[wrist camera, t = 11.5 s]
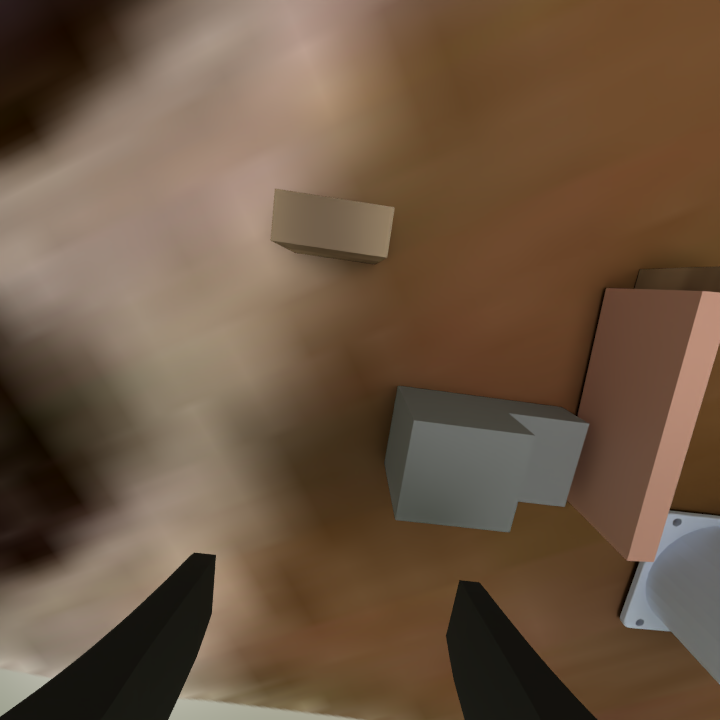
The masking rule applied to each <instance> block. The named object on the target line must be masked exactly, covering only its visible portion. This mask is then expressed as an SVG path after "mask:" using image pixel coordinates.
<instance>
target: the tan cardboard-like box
mask: <svg viewBox="0 0 720 720" xmlns="http://www.w3.org/2000/svg"><path fill="white" fill-rule="evenodd" d="M394 208H395V207H389V206H383V205H376V204H370V203H363V202H357V201H351V200H344V199H338V198H331V197H325V196H319V195H312V194H306V193H299V192H293V191H286V190H280V189H275V194H274V206H273V218H272V230H271V241H273V242H275V243H277V244H279V245H281V246H283V247H285V248H287V249H289V250H291V251H293V252H295V253H301V254H307V255H314V256H321V257H328V258H335V259H342V260H349V261H355V262H362V263H369V264H377V263H379V262H380V261H382V260H384V259H386V258H387V255H388V248H389V242H390V235H391V228H392V221H393V215H394ZM634 289H653V290H684V291H707V292H719V293H720V267H692V268H664V269H640V271H639V274H638V278H637V281H636V284H635V288H634Z"/></svg>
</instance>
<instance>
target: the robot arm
mask: <svg viewBox="0 0 720 720" xmlns="http://www.w3.org/2000/svg"><path fill="white" fill-rule="evenodd" d="M215 560H216V555H211V554H201V553H194V554H192V555H191V556H190V557H189V558H188V559H187V560H186V561H185V562H184V563H183V564H182V565H181V566H180V567H179V568H178V569H177V570H176V571H175V572H174V573H173V574H172V575H171V576H170V577H169V578H168V579H167V580H166V581H165V582H164V583H163V584H162V585H161V586H159V587H158V588H157V589H156V590H155V591H154V592H153V593H152V594H151V595H150V596H149V597H148V598H147V599H146V600H145V601H144V602H143V603H141V604H140V605H139V606H138V607H137V608H136V609H135V610H134V611H133V612H132V613H131V614H130V615H129V616H127V617H126V618H125V619H124V620H123V621H122V622H121V623H120V624H118V625H117V626H116V627H115V628H114V629H113V630H111V631H110V632H109V633H108V634H107V635H106V636H104V637H103V638H102V639H101V640H100V641H99V642H97V643H96V644H95V645H94V646H93V647H92V648H90V649H89V650H88V651H87V652H86V653H84V654H83V655H82V656H81V657H79V658H78V659H77V660H76V661H74V662H73V663H72V664H71V665H69V666H68V667H67V668H66V669H64V670H63V671H62V672H60V673H59V674H58V675H57V676H55V677H54V678H53V679H51V680H50V681H49V682H47V683H46V684H45V685H43V686H42V687H41V688H39V689H38V690H37V691H35V692H34V693H33V694H31V695H30V696H29V697H27V698H26V699H24V700H23V701H22V702H20V703H19V704H17V705H16V706H15V707H13V708H12V709H10V710H9V711H8V712H6V713H5V714H4V715H2V716H1V717H0V720H168V719H169V717H170V714H171V712H172V710H173V708H174V706H175V704H176V701H177V699H178V697H179V695H180V693H181V690H182V688H183V686H184V684H185V682H186V679H187V677H188V675H189V673H190V670H191V668H192V666H193V664H194V661H195V659H196V657H197V654H198V652H199V649H200V646H201V643H202V640H203V638H204V635H205V632H206V629H207V626H208V623H209V620H210V617H211V614H212V603H213V589H214V574H215ZM620 620H621V622H622V623H623V624H624V625H625V626H626V627H628V628H638V629H649V630H660V631H671V632H672V633H673V634H674V635H675V636H676V638H677V639H678V640H679V641H680V642H681V643H682V644H683V645H684V646H685V647H686V648H687V650H688V651H689V652H690V653H691V654H692V655H693V656H694V657H695V658H696V659H697V660H698V662H699V663H700V664H701V665H702V666H703V667H704V668H705V669H706V670H707V671H708V672H709V674H710V675H711V676H712V677H713V678H714V679H715V680H716V681H717V682H718V683H719V684H720V516H716V515H707V514H697V513H688V512H679V511H670V510H669V513H668V516H667V520H666V523H665V526H664V530H663V533H662V536H661V540H660V543H659V546H658V550H657V553H656V556H655V560H654V562H642V561H640V562H639V564H638V567H637V570H636V573H635V576H634V578H633V581H632V584H631V587H630V590H629V593H628V595H627V598H626V601H625V604H624V607H623V609H622V612H621V615H620ZM446 638H447V644H448V650H449V656H450V662H451V667H452V673H453V678H454V682H455V686H456V689H457V693H458V697H459V700H460V704H461V708H462V711H463V715H464V719H465V720H597V719H596V718H595V717H594V716H593V715H592V714H591V713H590V712H589V711H588V710H587V709H586V708H585V706H584V705H583V704H582V703H581V702H580V701H579V700H578V699H577V698H576V697H575V696H574V695H573V694H572V693H571V691H570V690H569V689H568V688H567V687H566V686H565V685H564V684H563V683H562V682H561V680H560V679H559V678H558V677H557V676H556V675H555V674H554V673H553V672H552V670H551V669H550V668H549V667H548V666H547V665H546V664H545V662H544V661H543V660H542V659H541V658H540V657H539V655H538V654H537V653H536V652H535V651H534V649H533V648H532V647H531V646H530V645H529V643H528V642H527V641H526V640H525V639H524V637H523V636H522V635H521V634H520V633H519V631H518V630H517V629H516V628H515V626H514V625H513V624H512V623H511V621H510V620H509V619H508V618H507V616H506V615H505V614H504V613H503V611H502V610H501V609H500V608H499V606H498V605H497V604H496V602H495V601H494V600H493V599H492V597H491V596H490V595H489V594H488V592H487V591H486V590H485V589H484V587H483V586H482V585H481V584H480V583H479V582H471V581H461V580H459V585H458V589H457V593H456V597H455V601H454V605H453V610H452V614H451V618H450V622H449V626H448V630H447V634H446Z"/></svg>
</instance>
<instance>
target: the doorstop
mask: <svg viewBox="0 0 720 720" xmlns="http://www.w3.org/2000/svg"><path fill="white" fill-rule="evenodd" d="M588 427H589V423H587V422H586V421H584V420H582V419H581V418H579V417H577V416H576V415H574V414H572V413H571V412H569V411H567V410H566V409H564V408H562V407H557V406H549V405H542V404H534V403H526V402H519V401H511V400H504V399H496V398H488V397H481V396H473V395H466V394H458V393H451V392H443V391H435V390H428V389H420V388H413V387H405V386H398V388H397V394H396V399H395V405H394V411H393V416H392V422H391V428H390V434H389V439H388V445H387V451H386V457H385V462H384V464H385V469H386V474H387V480H388V485H389V490H390V495H391V500H392V506H393V511H394V516H395V520H401V521H410V522H419V523H429V524H438V525H447V526H456V527H465V528H474V529H484V530H493V531H502V532H510V529H511V526H512V522H513V518H514V514H515V511H516V507H517V503H518V502H527V503H536V504H545V505H553V506H562V507H565V504H566V501H567V497H568V494H569V491H570V487H571V484H572V481H573V477H574V474H575V470H576V467H577V464H578V460H579V457H580V454H581V450H582V447H583V444H584V440H585V437H586V434H587V430H588Z"/></svg>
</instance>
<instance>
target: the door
mask: <svg viewBox="0 0 720 720" xmlns="http://www.w3.org/2000/svg"><path fill="white" fill-rule="evenodd" d="M719 343H720V293H719V292H707V291H684V290H653V289H622V288H606V291H605V295H604V300H603V304H602V309H601V313H600V318H599V322H598V327H597V331H596V336H595V340H594V345H593V349H592V353H591V358H590V362H589V367H588V371H587V376H586V380H585V385H584V389H583V394H582V398H581V403H580V407H579V412H578V416H577V417H579V418H581V419H582V420H584V421H586V422H587V423H589V427H588V430H587V434H586V437H585V440H584V444H583V447H582V450H581V454H580V457H579V460H578V464H577V467H576V470H575V474H574V477H573V481H572V484H571V487H570V491H569V494H568V497H567V501H568V502H569V503H570V504H571V505H572V506H573V507H574V508H575V509H576V510H577V511H578V512H579V513H580V514H581V515H582V516H583V517H584V518H585V519H586V520H587V521H588V522H589V523H590V524H591V525H592V526H593V527H594V528H595V529H596V530H597V531H598V532H599V533H600V534H601V535H602V536H603V537H604V538H605V539H606V540H607V541H608V542H609V543H610V544H611V545H612V546H613V547H614V548H615V549H616V550H617V551H618V552H619V553H620V554H621V555H622V556H623V557H624V558H625V559H626V560H627V561H642V562H654V560H655V556H656V553H657V550H658V546H659V543H660V540H661V536H662V533H663V530H664V526H665V523H666V520H667V516H668V513H669V510H670V506H671V503H672V500H673V496H674V493H675V490H676V486H677V483H678V480H679V476H680V473H681V470H682V466H683V463H684V460H685V456H686V453H687V450H688V446H689V443H690V440H691V436H692V433H693V430H694V426H695V423H696V420H697V416H698V413H699V410H700V406H701V403H702V400H703V396H704V393H705V390H706V386H707V383H708V380H709V376H710V373H711V370H712V366H713V363H714V360H715V356H716V353H717V350H718V346H719Z"/></svg>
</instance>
